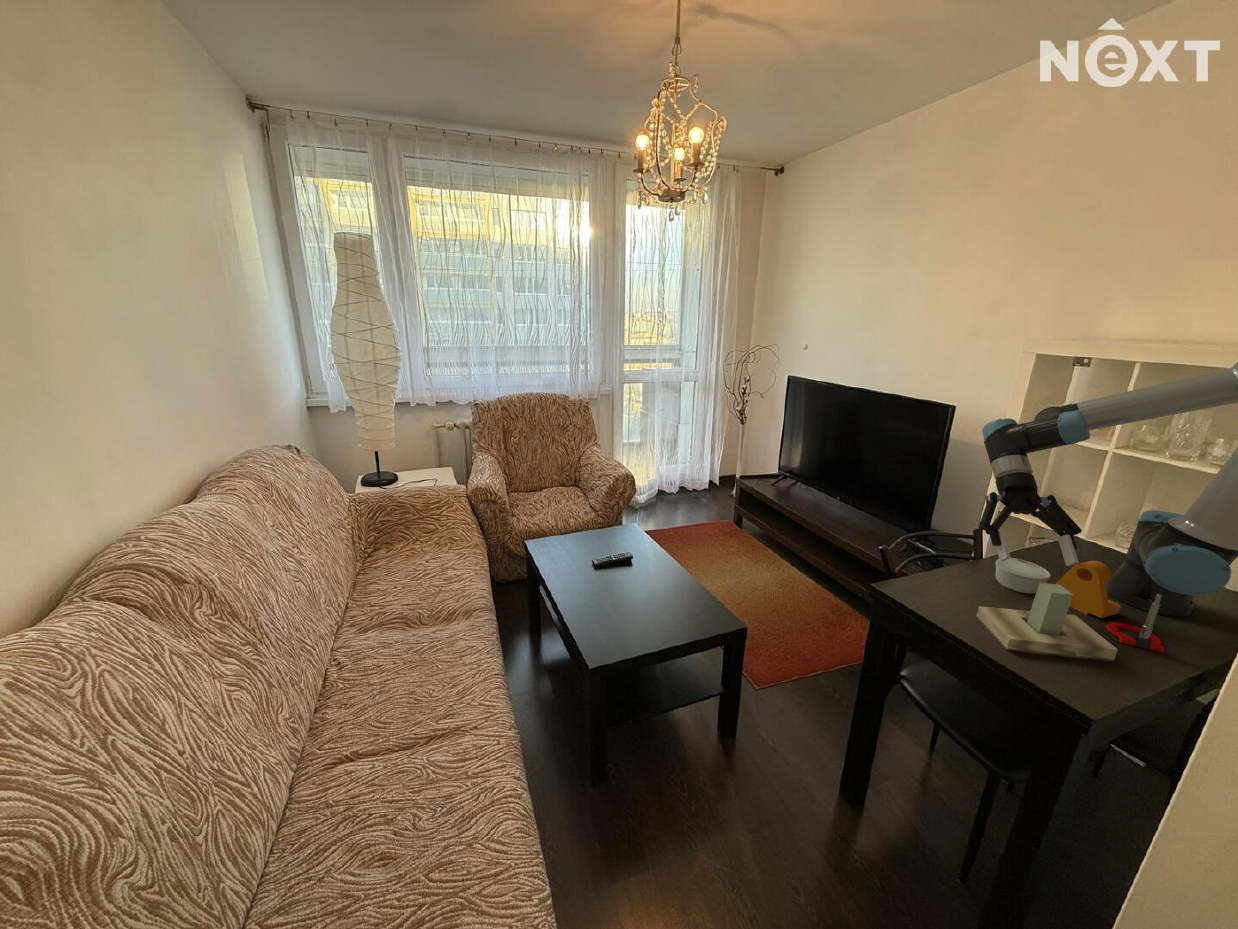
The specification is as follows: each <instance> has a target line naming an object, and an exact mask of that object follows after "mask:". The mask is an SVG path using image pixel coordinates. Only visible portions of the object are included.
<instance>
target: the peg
mask: <svg viewBox="0 0 1238 929" xmlns="http://www.w3.org/2000/svg"><path fill="white" fill-rule="evenodd" d="M1072 597H1073V594H1072V593H1070V592H1069V591H1068V590H1066V589H1065V588H1064V587H1062V586H1061V585H1059V584H1055V583H1048V582H1046V583H1039V585H1038V589H1037V592H1036V593H1035V596H1034V599H1033V601H1032V605H1031V609H1030V610H1029V611H1030V615H1029V618H1028V621H1027V624H1028V625H1029V626H1030V627H1031V628H1032V629H1033V630H1034V631H1035V632H1036V633H1037V634H1047V635H1057V636H1060V633H1061V630H1062V627H1063V624H1064V621H1065V618H1066V615H1067V614H1068V612H1069V609H1070V603H1071V600H1072Z"/></svg>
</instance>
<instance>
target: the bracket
mask: <svg viewBox="0 0 1238 929" xmlns="http://www.w3.org/2000/svg"><path fill="white" fill-rule="evenodd" d="M1111 576H1112V572H1111V569H1110V568H1109V567H1108V566H1107V564H1105V562H1102V561H1099V560H1089V561H1086V562H1079V563H1077V564H1074V565H1072V567H1071V568H1070V569H1069V570H1068V571H1067V572H1065V574H1064V575H1063V576H1061V577H1060V579H1058V580H1057V581H1056V582H1055V583H1054V584H1059V585H1061V586H1062V587H1064V588H1065V589H1066V590H1068V591H1069V592H1070V593H1072V594H1073V597H1072V600H1071V603H1070V606H1069V608H1072V609H1075V610H1076V611H1078V612H1080V613H1082V614H1085V615H1093V616H1095V617H1097V618H1099V619H1103V618H1107V617H1112V616H1113V615H1117V614H1119V612H1120V610H1121V607H1122V605H1121V604H1119V603H1117V602H1115V601H1113V600H1110V599H1109V597H1108V592H1107V589H1106V582H1108V581H1109V580H1110V578H1111Z"/></svg>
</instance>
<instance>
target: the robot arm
mask: <svg viewBox="0 0 1238 929" xmlns="http://www.w3.org/2000/svg"><path fill="white" fill-rule="evenodd" d="M1236 403H1238V362H1235V363H1234V364H1233V365H1232V366H1231V367H1230V368H1227V369H1224V370H1219V371H1215V372H1214V371H1213V372H1209V373H1204V374H1201V375H1196V376H1192V377H1187V378H1183V379H1178V380H1173V381H1170V382H1169V381H1168V382H1164V383H1160V384H1155V385H1151V386H1148V387H1147V386H1145V387H1142V388H1138V389H1134V390H1127V391H1124V392H1119V393H1115V394H1111V395H1107V396H1101V397H1098V398H1094V399H1093V398H1092V399H1088V400H1084V401H1080V402H1079V401H1078V402H1075V403H1072V404H1071V403H1070V404H1066V405H1061V406H1058V405H1057V406H1048V407H1045V408H1043V409H1042V410H1040V411H1038V413H1037V414H1036V415H1035V417H1034V419H1033V420H1032V421H1028V422H1024V423H1023V422H1022V423H1018V422H1017V420H1015V419H1013V418H1007V417H1006V418H997V419H993V420H992V421H989V422H987V423H985V425H984V426H983V427H982V431H981V432H982V437H983V445H984V446H985V451H986V453H987V457H988V461H989V463H990V467H991V471H992V474H993V478H994V480H995V482H994V483H995V487H996V490H997V492H996V491H992V492H990V493H989V494H988V495H986V496H985V502H986V505H985V508H984V509H983V513H982V516H981V518H980V521H979V523H978V527H977V528H978V530H979V531H985V533H986V534H987V535H989V538H990V542H991V545H992V546H994V547H995V548H996V550H997V555H998V559H1000V561H1005V560H1007V559H1010V558H1012V557H1011V553H1010V550H1009V547H1008V543H1007V540H1006V535H1005V531H1004V530H1000V528H1002V526H1003V525H1004V523H1005V522H1006V520H1007V519H1008V518H1009V517H1010V515H1011V514H1012V513H1013V514H1014V515H1020V514H1021V515H1026V516H1028V515H1031V516H1032V517H1034V518H1037V519H1038V520H1040V521H1041V522H1043V523H1044V524H1045V525H1046V526H1047V527H1049V528H1050V529H1051V530H1052V532H1054V533H1056V534H1057V535H1058V536H1060V537H1058V538H1057V541H1058V544H1059V547H1060V550H1061V553H1062V556H1063V560H1064V563H1065V565H1066V567H1071V566H1072V567H1073V566H1074V565H1076V564H1080V561H1079V559H1078V556H1077V553H1076V551H1077V549H1078V546H1077V544H1076V540H1075V537H1074V536H1076V535H1079V534H1081V533H1082V532H1083V529H1082V528H1081V527H1080V526H1079V525H1078V524H1077V523H1076V522H1075V521H1074V520H1073V519H1072V518H1071V516H1070V515H1069V514H1068V513H1067V511H1065V510H1064V509H1063V508H1062V507H1061V505H1060V504H1059V503H1058V501H1057V499H1056V497H1055V495H1053V494H1050V495H1048V496H1040V495H1039V493H1038V485H1037V484H1038V483H1037V481H1036V477H1035V476H1034V474H1033V473H1034V471H1033V469H1032V465H1031V462H1030V459H1029V457H1028V454H1031V453H1036V452H1040V451H1041V452H1042V451H1044V450H1049V449H1055V448H1059V447H1064V446H1069V445H1070V446H1071V445H1075V444H1077V443H1080V442H1085V441H1087V440H1089V439H1090V438H1091V432H1090V431H1094V430H1099V429H1100V430H1101V429H1104V428H1110V427H1115V426H1121V425H1126V424H1131V423H1135V422H1137V423H1138V422H1143V421H1148V420H1153V419H1158V418H1163V417H1168V416H1174V415H1179V414H1185V413H1190V412H1195V411H1199V410H1200V411H1201V410H1204V409H1210V408H1211V409H1212V408H1215V407H1216V408H1217V407H1221V406H1227V405H1231V404H1236ZM999 502H1000V503H1001V504H1002V505H1003V506H1004V507H1003V509H1001V511H1000V513H999V514H998V515H997V517H996V518H995V519H994V521H993V522H992V520H993V517H994V514H995V511H996V508H997V505H998V503H999ZM1134 530H1135V531H1134V533H1133V536H1132V538H1131V541H1130V544H1129V546H1128V550H1127V552H1126V555H1125V558H1124V561H1123V562H1122V564H1121V565H1120V566H1119V567H1118V568H1117V569H1116V571H1115V572H1114V573H1113V574H1111V578H1110V580H1109V581H1108V582H1106V589H1107V594H1109V595H1110V596H1112V597H1113V598H1115V599H1117V600H1118V601H1120V602H1123V603H1125V604H1127V605H1130V606H1132V607H1135V608H1137V609H1141V610H1142V611H1146V612H1147V611H1148V612H1149V610H1150V607H1151V605H1152V602H1154V601H1155V598H1156V595H1157V593H1159V594H1162V598H1161V600H1160V604H1161V605H1160V607H1159V610H1158V613H1157V615H1158V614H1159V615H1162V616H1163V615H1164V616H1169V617H1187V616H1190V615H1191V613H1192V611H1193V608H1194V605H1195V602H1194V600H1193V599H1194V598H1193V597H1194V596H1197V595H1198V596H1199V595H1200V596H1201V595H1209V594H1212V593H1215V592H1218V591H1220V590H1222V589H1223V588H1225V586H1226V585H1228V584H1229V582H1230V579H1231V574H1232V569H1231V565H1232V564H1233V562H1235V560H1236V559H1237V558H1238V446H1237V448H1235V450H1234V451H1233V452H1232V453H1231V455H1230V456H1229V457H1228V458H1227V460H1226V461H1225V462H1224V464H1223V465H1222V466H1221V467H1220V469H1219V470H1218V471H1217V473H1216V474H1215V475H1214V477H1213V478H1212V479H1211V480H1210V482H1209V483H1208V484H1207V486H1206V487H1205V488H1204V489H1203V490H1202V492H1200V494H1199V496H1198V497H1197V498H1196V499H1195V500H1194V502H1193V503H1192V504H1191V505H1190V506H1189V508H1188V509H1187V511H1186V512H1185V513H1184V514H1181V513H1178V512H1177V513H1176V512H1170V511H1166V510H1165V511H1163V510H1153V509H1151V510H1145V511H1143V512H1141V515H1140V517H1139V518H1138V519H1137V524H1136V528H1135V529H1134Z"/></svg>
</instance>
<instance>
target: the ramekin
mask: <svg viewBox="0 0 1238 929" xmlns="http://www.w3.org/2000/svg"><path fill="white" fill-rule="evenodd" d="M1051 577H1052V576H1051V573H1050V572H1049V571H1048V570H1047V569H1046V568H1044V567H1043V566H1040V565H1038V564H1036V563H1034V562H1031V561H1027V560H1024V559H1021V558H1015V557H1011V558H1010V559H1007V560H1005V561H1000V559H999V558H997V559H996V561H995V579H996V581H997V582H998V583H999V584H1000V585H1001V586H1003V587H1005V588H1007V589H1009V590H1011V589H1012V591H1015V592H1018V593H1022V594H1029V595H1030V594H1032V595H1034V594H1035V595H1036V592H1037V589H1038V585H1039V583H1048V581H1049V580H1050V579H1051Z"/></svg>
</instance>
